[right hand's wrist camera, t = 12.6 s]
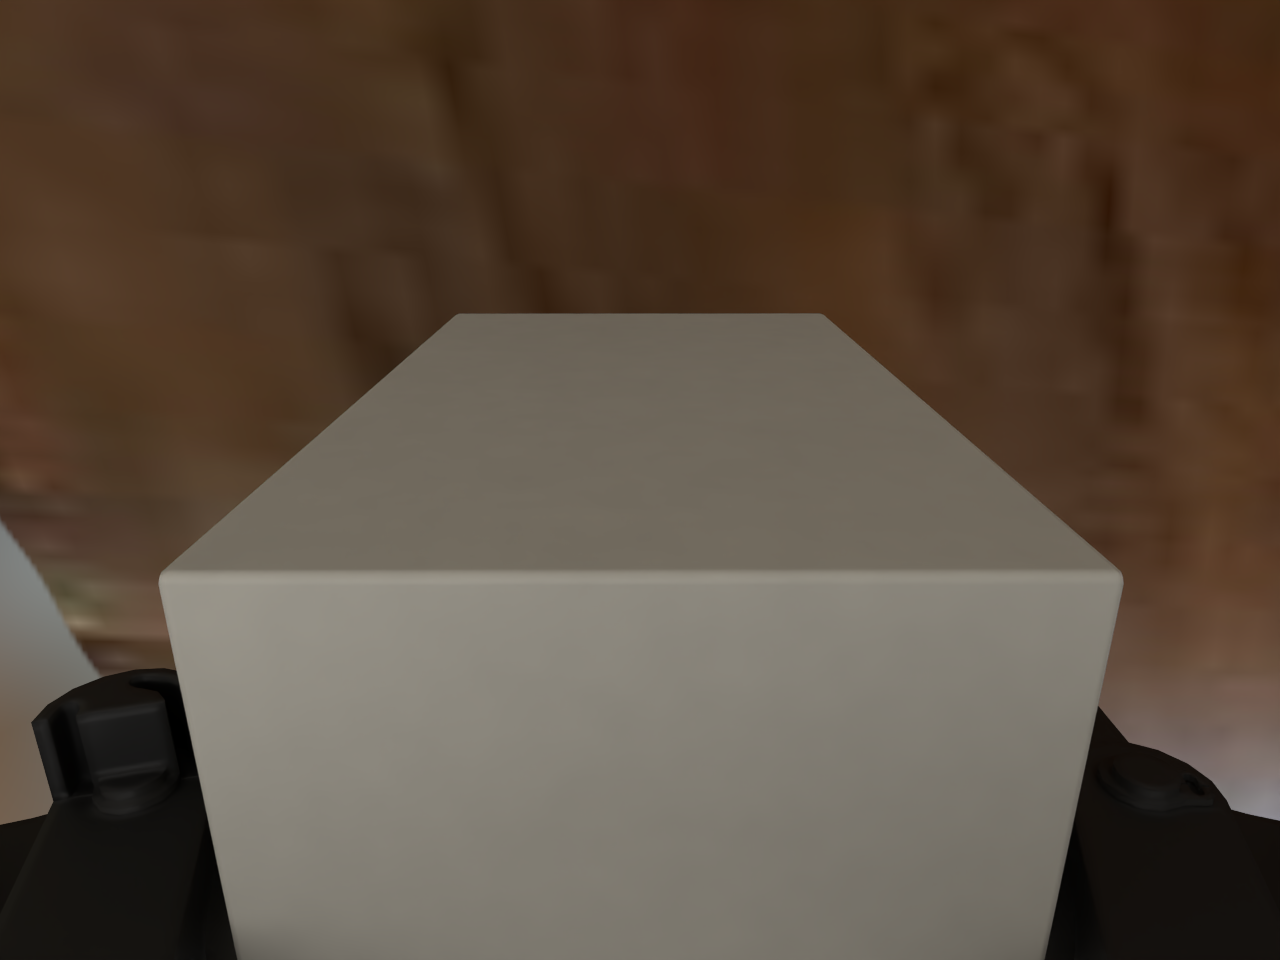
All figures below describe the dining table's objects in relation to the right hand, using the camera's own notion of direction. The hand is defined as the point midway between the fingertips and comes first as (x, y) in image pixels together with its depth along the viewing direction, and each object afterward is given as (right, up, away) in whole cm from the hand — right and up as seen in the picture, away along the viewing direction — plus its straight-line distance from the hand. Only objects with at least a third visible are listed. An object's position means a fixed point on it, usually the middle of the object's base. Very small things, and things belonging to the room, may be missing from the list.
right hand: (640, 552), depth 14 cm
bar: (0, -11, +5) cm, 12 cm away
